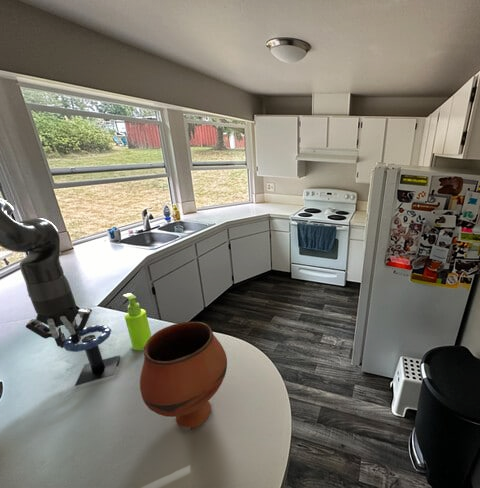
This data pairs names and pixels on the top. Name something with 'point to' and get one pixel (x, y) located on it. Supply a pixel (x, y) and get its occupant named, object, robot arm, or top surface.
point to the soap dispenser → (137, 323)
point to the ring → (88, 345)
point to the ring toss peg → (96, 364)
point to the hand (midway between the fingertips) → (70, 344)
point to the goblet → (182, 372)
